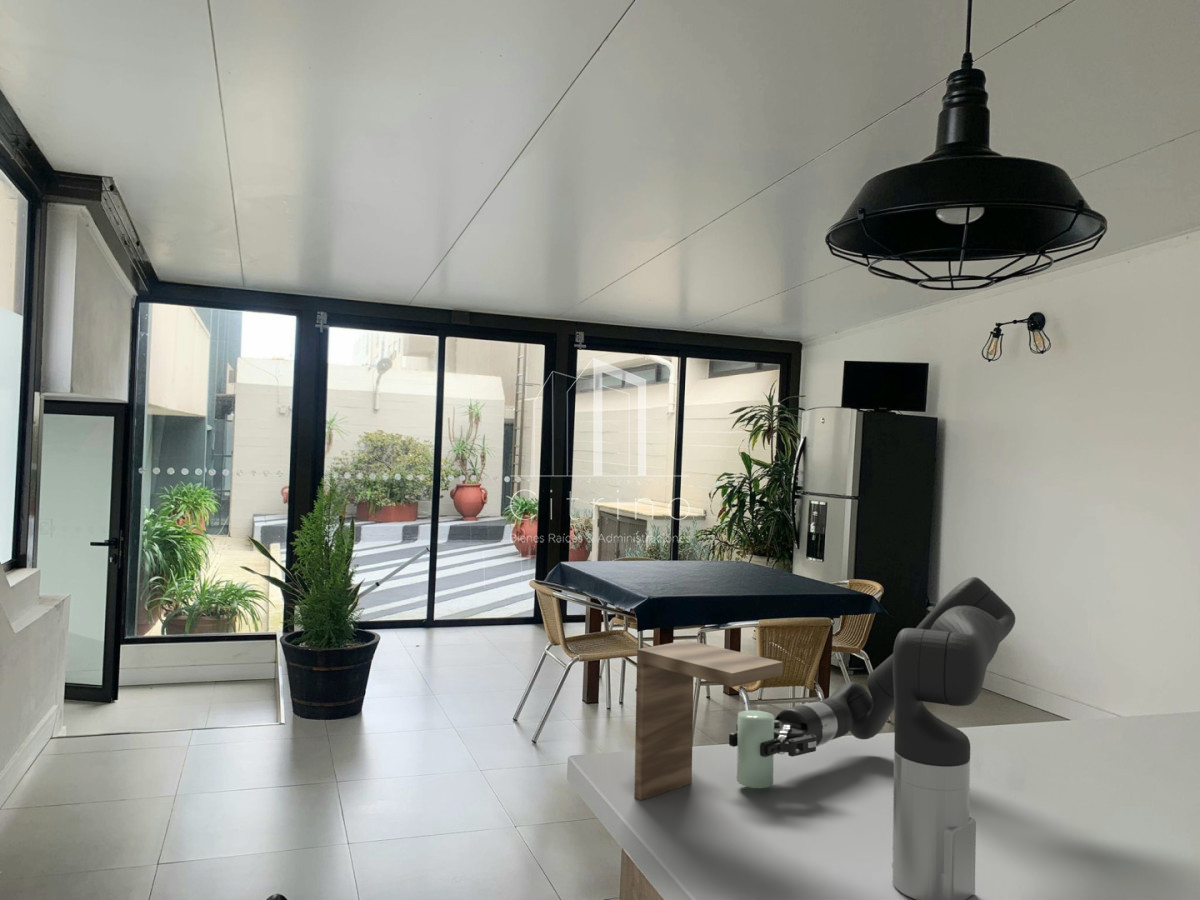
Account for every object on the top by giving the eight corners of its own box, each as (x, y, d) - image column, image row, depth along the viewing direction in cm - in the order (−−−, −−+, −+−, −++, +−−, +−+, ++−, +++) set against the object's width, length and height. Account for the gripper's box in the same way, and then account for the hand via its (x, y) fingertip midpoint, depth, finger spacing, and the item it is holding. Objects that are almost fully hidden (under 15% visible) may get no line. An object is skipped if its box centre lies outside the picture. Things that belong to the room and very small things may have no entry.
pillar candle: (780, 782, 146) (781, 716, 147) (757, 790, 142) (758, 723, 143) (752, 772, 151) (753, 708, 151) (729, 780, 147) (730, 714, 147)
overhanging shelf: (780, 818, 135) (783, 661, 135) (729, 839, 127) (732, 673, 127) (685, 780, 150) (687, 640, 150) (634, 797, 142) (637, 649, 142)
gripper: (774, 696, 162) (713, 712, 151) (841, 714, 151) (781, 733, 140) (773, 737, 162) (712, 756, 150) (841, 758, 151) (781, 780, 140)
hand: (746, 745), depth 145 cm, fingers closed on pillar candle, 6 cm apart
